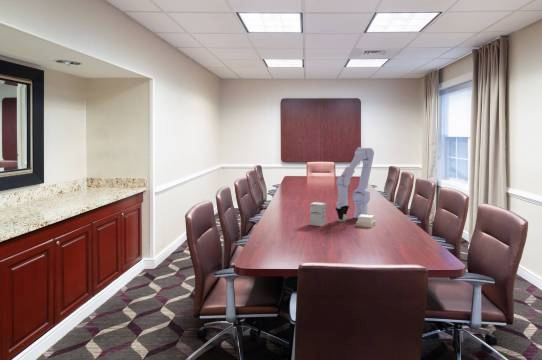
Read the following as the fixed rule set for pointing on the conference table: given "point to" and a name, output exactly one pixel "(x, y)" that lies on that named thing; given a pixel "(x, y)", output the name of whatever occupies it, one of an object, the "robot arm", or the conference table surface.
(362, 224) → the base slab
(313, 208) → the supplement box
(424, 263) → the conference table surface
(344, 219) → the sage capsule
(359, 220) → the top slab
